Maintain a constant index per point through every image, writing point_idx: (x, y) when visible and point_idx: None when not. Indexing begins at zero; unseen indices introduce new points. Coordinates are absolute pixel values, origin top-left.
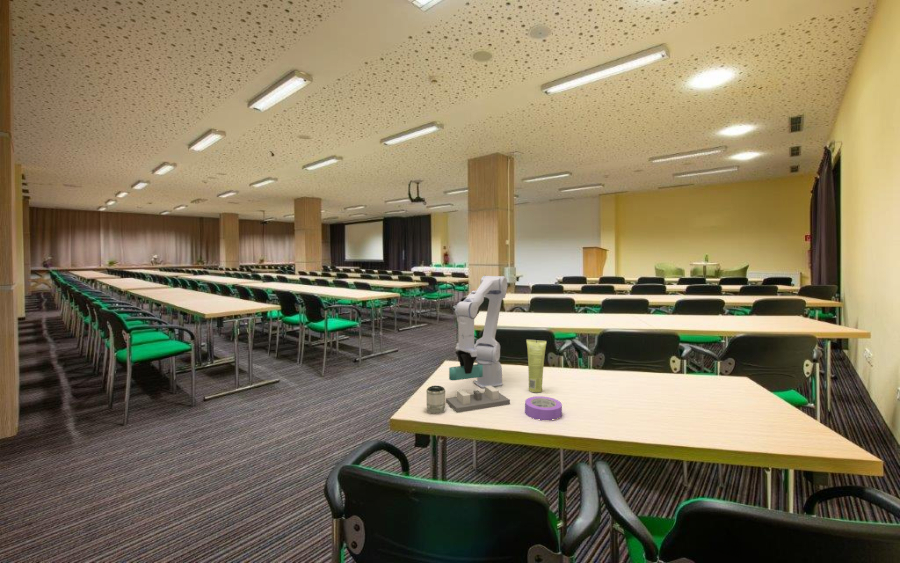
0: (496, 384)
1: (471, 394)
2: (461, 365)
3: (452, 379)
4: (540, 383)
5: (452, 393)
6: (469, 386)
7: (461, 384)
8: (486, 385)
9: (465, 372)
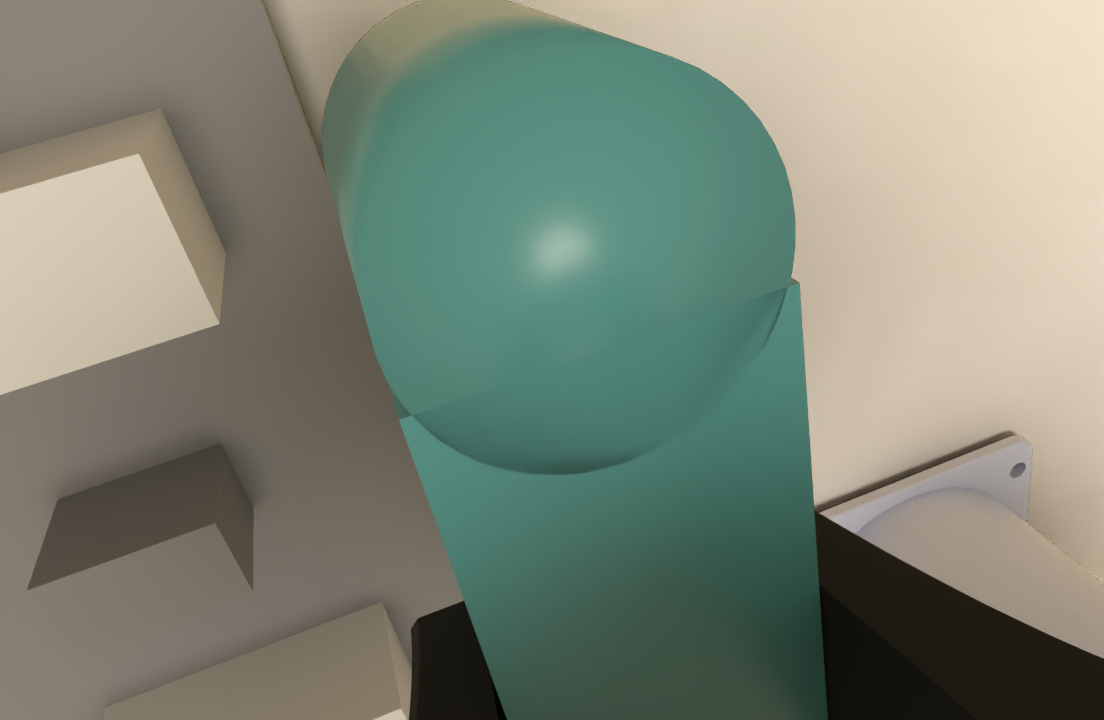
0: None
1: None
2: (836, 611)
3: (333, 107)
4: None
5: None
6: (904, 373)
7: (1019, 265)
8: None
9: (437, 631)
